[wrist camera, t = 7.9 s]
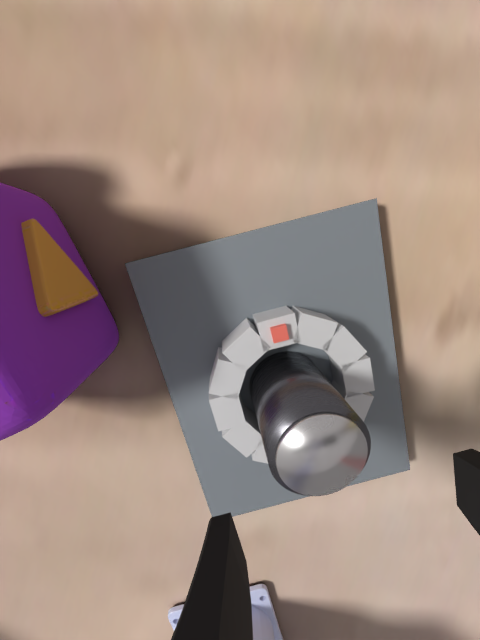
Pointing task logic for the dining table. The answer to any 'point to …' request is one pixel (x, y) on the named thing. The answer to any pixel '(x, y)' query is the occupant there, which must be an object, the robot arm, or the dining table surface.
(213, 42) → the dining table surface
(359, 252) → the mount board
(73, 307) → the toy camera
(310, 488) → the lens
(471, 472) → the robot arm
